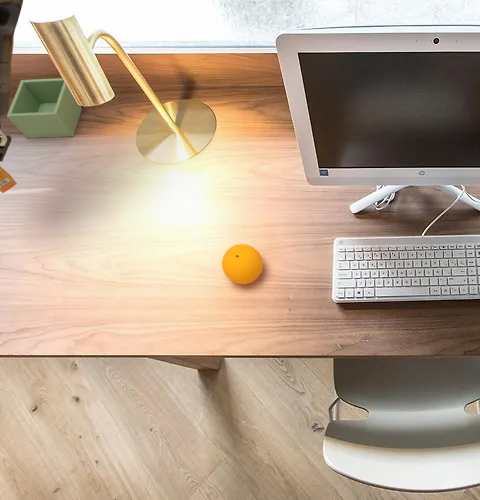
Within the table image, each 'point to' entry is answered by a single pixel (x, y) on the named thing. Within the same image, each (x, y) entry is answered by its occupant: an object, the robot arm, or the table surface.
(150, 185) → the table surface
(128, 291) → the table surface
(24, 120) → the bin
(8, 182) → the supplement box
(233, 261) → the orange fruit
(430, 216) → the table surface
